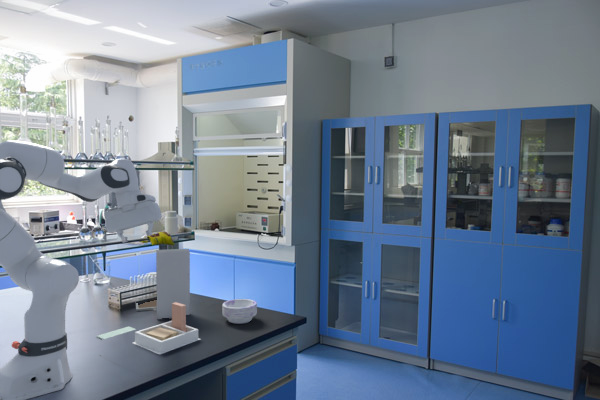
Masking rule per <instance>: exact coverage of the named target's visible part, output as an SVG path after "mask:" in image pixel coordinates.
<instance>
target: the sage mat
mask: <svg viewBox="0 0 600 400" xmlns="http://www.w3.org/2000/svg"><path fill="white" fill-rule="evenodd" d="M136 330H137V329H136V328H134V327H132V326H126V327H122V328H119V329H115V330H112V331H108V332H105V333H102V334H98V335H96V338H98V339H101V340H102V339H103V340H106V339H109V338H112V337H113V338H114V337H116V336H119V335H123V334H126V333H128V332H132V331H136Z"/></svg>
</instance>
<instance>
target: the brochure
mask: <svg viewBox="0 0 600 400" xmlns="http://www.w3.org/2000/svg"><path fill="white" fill-rule="evenodd" d="M155 251H156V253H155V254H156V258H155V259H156V262H155V264H156V266H155V267H156V268H155V270H156V271H155V272H156V274H155V275H156V292H157V311H156V320H163V319H162V318H169V319H172V303H175V302H177V303H180V304H184V305H186V316H189V315H190V314H191V312H190V311H191V303H190V302H191V301H190V300H191V297H190V296H191V292H190V291H191V290H190V288H191V279H190V278H191V276H190V275H191V264H190V263H191V259H190V258H191V257H190V256H191V253H190V249H189V248H176V249H175V248H174V249H170V248H169V249H156V250H155Z"/></svg>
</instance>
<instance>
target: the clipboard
mask: <svg viewBox="0 0 600 400" xmlns="http://www.w3.org/2000/svg"><path fill="white" fill-rule="evenodd" d="M135 310H136V312H145V311H146V312H147V311H154V312H157V300H154V301H150V302H145V303H143V304H140V305H138V303H136V302H135Z"/></svg>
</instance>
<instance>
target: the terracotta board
mask: <svg viewBox="0 0 600 400" xmlns="http://www.w3.org/2000/svg"><path fill="white" fill-rule="evenodd" d="M171 321H172V327H173V328H175V329H178V330H181V331H184V332H186V325H187V315H186V305H184V304H180V303H177V302H175V303H172V318H171Z"/></svg>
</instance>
